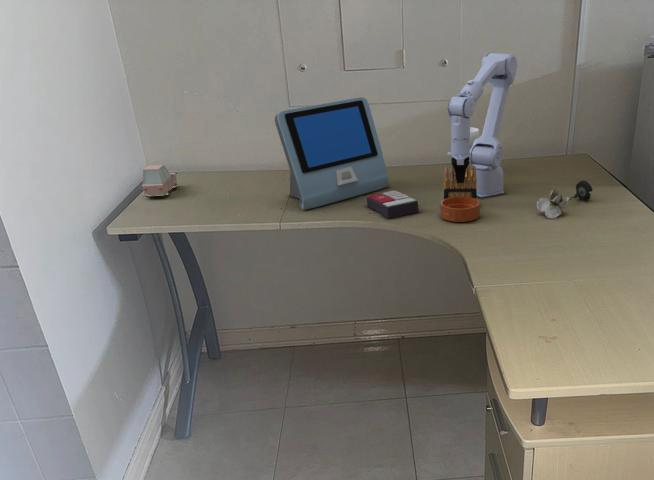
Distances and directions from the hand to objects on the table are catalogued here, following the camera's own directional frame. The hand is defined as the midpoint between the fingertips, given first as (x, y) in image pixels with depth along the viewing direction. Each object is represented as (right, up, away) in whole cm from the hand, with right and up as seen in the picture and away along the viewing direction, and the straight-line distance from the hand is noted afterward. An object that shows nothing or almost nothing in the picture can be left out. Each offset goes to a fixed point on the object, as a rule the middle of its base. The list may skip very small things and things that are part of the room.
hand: (460, 181), depth 203 cm
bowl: (0, -12, -4) cm, 12 cm away
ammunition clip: (0, -6, +4) cm, 7 cm away
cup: (+5, +11, +36) cm, 38 cm away
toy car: (-105, +2, +26) cm, 108 cm away
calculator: (-22, -8, +4) cm, 23 cm away
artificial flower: (+33, -9, 0) cm, 34 cm away
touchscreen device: (-42, 0, +19) cm, 46 cm away
